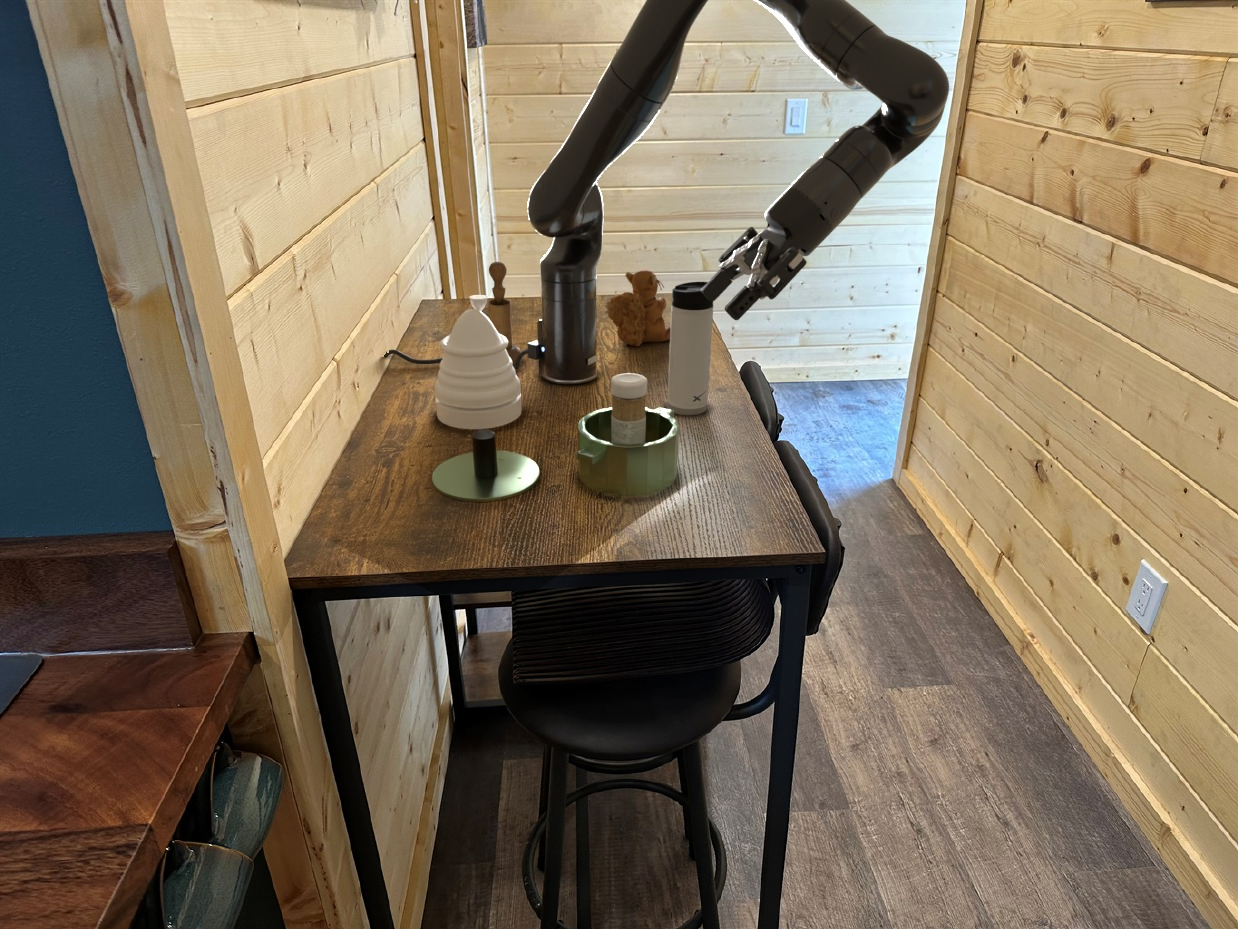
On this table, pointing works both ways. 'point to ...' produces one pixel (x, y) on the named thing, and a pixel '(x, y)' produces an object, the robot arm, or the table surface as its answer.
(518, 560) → the table surface
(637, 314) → the stuffed squirrel
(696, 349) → the travel mug
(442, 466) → the lid
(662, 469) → the pot
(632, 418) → the sprinkles bottle
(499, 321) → the mortar and pestle
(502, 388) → the honey pot
